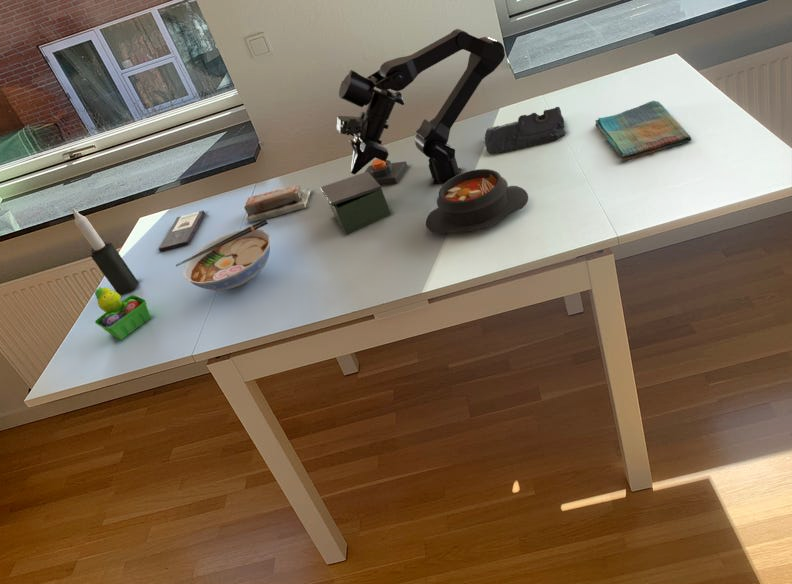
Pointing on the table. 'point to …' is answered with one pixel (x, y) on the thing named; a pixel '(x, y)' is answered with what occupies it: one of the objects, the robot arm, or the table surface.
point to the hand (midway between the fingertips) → (352, 173)
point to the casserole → (474, 202)
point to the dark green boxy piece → (360, 211)
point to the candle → (107, 258)
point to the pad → (388, 172)
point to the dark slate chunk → (525, 132)
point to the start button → (378, 164)
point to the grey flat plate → (350, 188)
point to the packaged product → (276, 203)
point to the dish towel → (642, 130)
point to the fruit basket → (120, 312)
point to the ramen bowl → (229, 259)
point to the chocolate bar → (182, 231)
